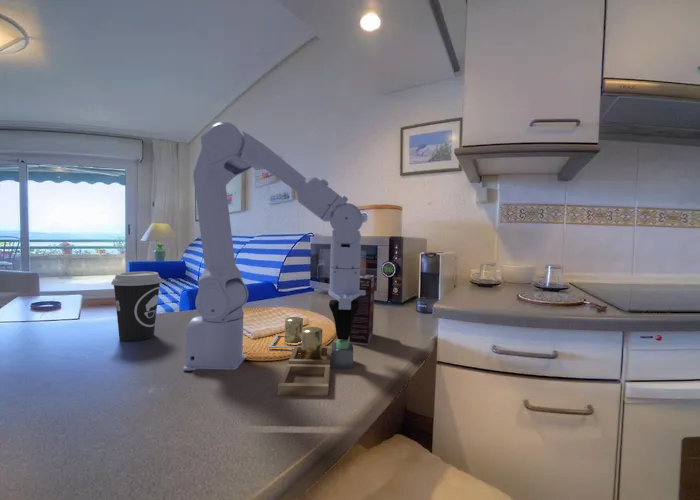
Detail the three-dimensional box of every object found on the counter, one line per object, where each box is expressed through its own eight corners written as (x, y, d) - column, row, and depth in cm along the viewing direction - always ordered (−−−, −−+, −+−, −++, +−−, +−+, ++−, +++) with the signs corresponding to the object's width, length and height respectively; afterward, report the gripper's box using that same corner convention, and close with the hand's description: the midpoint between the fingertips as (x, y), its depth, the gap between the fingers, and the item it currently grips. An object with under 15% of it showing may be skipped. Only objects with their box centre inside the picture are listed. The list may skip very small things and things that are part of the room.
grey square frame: (268, 352, 61) (268, 346, 61) (277, 337, 70) (277, 332, 70) (311, 353, 61) (311, 347, 61) (315, 338, 71) (315, 333, 70)
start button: (335, 363, 54) (336, 342, 54) (335, 358, 56) (336, 338, 56) (348, 363, 54) (349, 342, 54) (348, 358, 56) (348, 338, 56)
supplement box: (369, 348, 66) (371, 278, 65) (348, 345, 67) (350, 277, 66) (373, 336, 74) (375, 274, 74) (355, 334, 75) (357, 273, 75)
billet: (282, 348, 64) (283, 321, 64) (286, 341, 68) (286, 316, 68) (301, 348, 64) (301, 321, 64) (303, 342, 68) (304, 317, 68)
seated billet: (299, 364, 54) (300, 332, 54) (302, 355, 58) (303, 326, 58) (320, 364, 55) (321, 333, 54) (322, 356, 59) (323, 327, 58)
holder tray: (276, 399, 43) (276, 386, 43) (294, 354, 60) (294, 345, 60) (329, 400, 44) (329, 387, 44) (332, 355, 61) (332, 346, 61)
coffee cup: (152, 328, 74) (152, 270, 74) (168, 336, 68) (169, 274, 68) (104, 337, 66) (105, 273, 66) (118, 347, 61) (119, 277, 60)
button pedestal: (331, 371, 53) (331, 350, 53) (331, 362, 57) (332, 342, 57) (352, 371, 53) (353, 350, 53) (351, 362, 57) (352, 343, 57)
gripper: (370, 272, 47) (367, 353, 48) (363, 264, 62) (361, 327, 62) (327, 271, 47) (325, 352, 48) (330, 264, 62) (328, 326, 62)
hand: (343, 338), depth 55 cm, fingers closed
